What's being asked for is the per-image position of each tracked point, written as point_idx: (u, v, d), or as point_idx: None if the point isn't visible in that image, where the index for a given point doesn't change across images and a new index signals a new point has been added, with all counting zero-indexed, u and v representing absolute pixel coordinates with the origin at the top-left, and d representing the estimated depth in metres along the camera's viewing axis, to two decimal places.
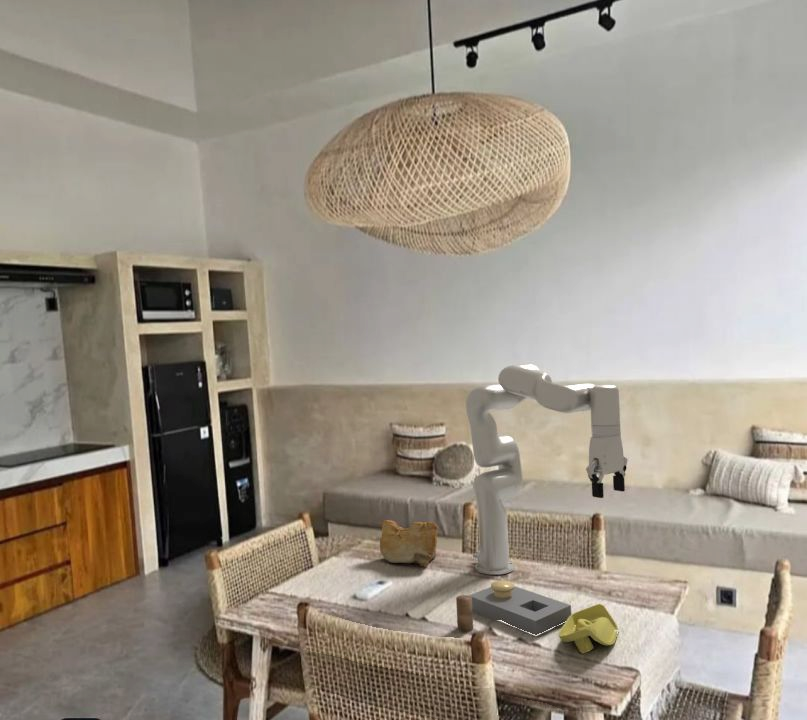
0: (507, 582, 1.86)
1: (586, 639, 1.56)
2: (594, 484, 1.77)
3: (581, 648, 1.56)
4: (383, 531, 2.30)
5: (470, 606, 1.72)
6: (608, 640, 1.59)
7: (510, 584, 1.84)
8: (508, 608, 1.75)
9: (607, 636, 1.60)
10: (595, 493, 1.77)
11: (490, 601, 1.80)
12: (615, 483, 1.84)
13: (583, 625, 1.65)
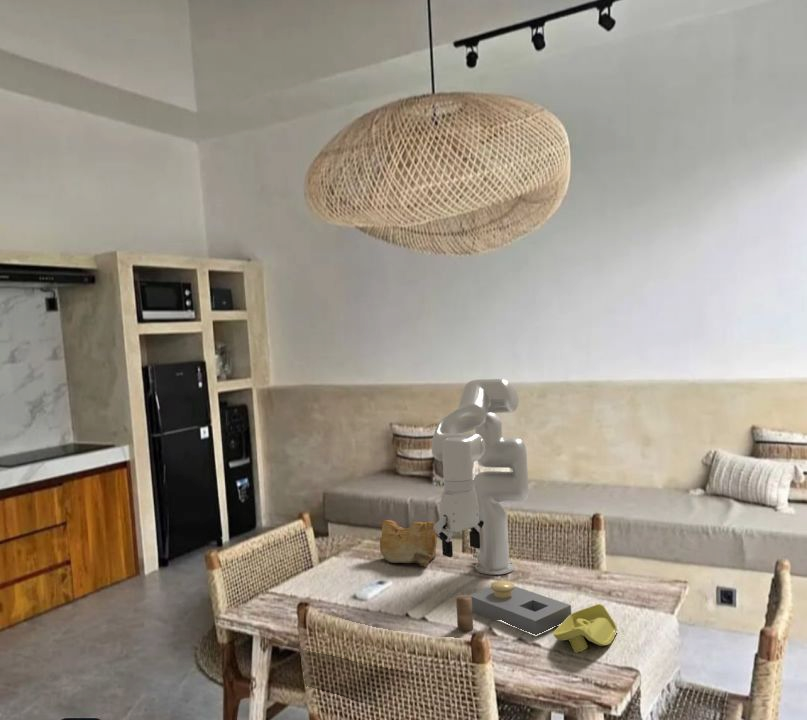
0: (507, 582, 1.86)
1: (580, 638, 1.57)
2: (443, 542, 1.69)
3: (575, 647, 1.56)
4: (383, 531, 2.30)
5: (470, 606, 1.72)
6: (604, 640, 1.59)
7: (510, 584, 1.84)
8: (508, 608, 1.75)
9: (603, 637, 1.60)
10: (444, 552, 1.69)
11: (490, 601, 1.80)
12: (471, 539, 1.76)
13: (581, 625, 1.66)
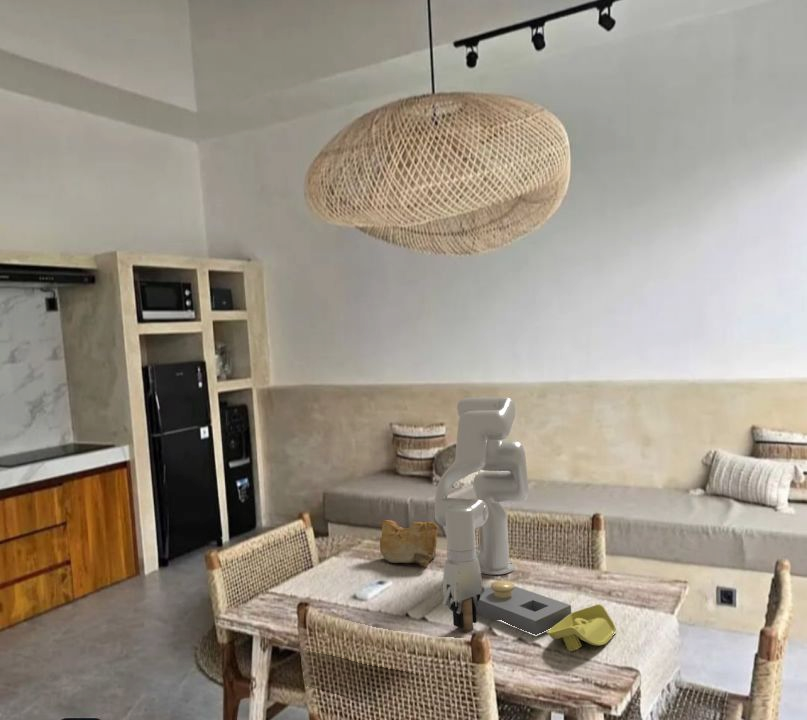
0: (507, 582, 1.86)
1: (574, 637, 1.57)
2: (454, 614, 1.71)
3: (568, 646, 1.57)
4: (383, 531, 2.30)
5: (470, 606, 1.72)
6: (599, 640, 1.59)
7: (510, 584, 1.84)
8: (508, 608, 1.75)
9: (598, 637, 1.60)
10: (455, 623, 1.71)
11: (490, 601, 1.80)
12: None
13: (578, 624, 1.66)
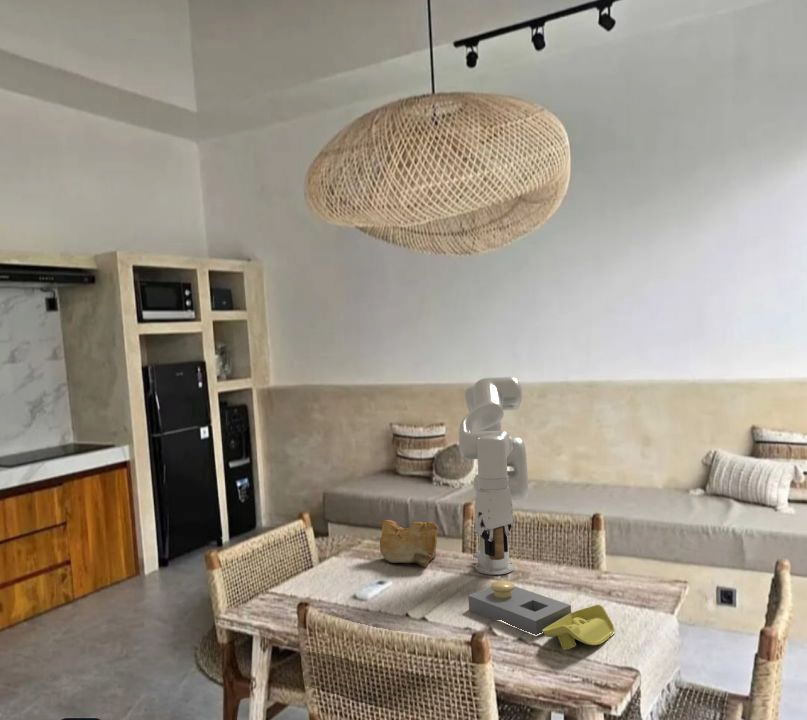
0: (507, 582, 1.86)
1: (568, 636, 1.58)
2: (485, 542, 1.72)
3: (563, 645, 1.58)
4: (383, 531, 2.30)
5: (501, 535, 1.72)
6: (594, 640, 1.59)
7: (510, 584, 1.84)
8: (508, 608, 1.75)
9: (594, 637, 1.60)
10: (486, 551, 1.72)
11: (490, 601, 1.80)
12: None
13: (576, 623, 1.67)
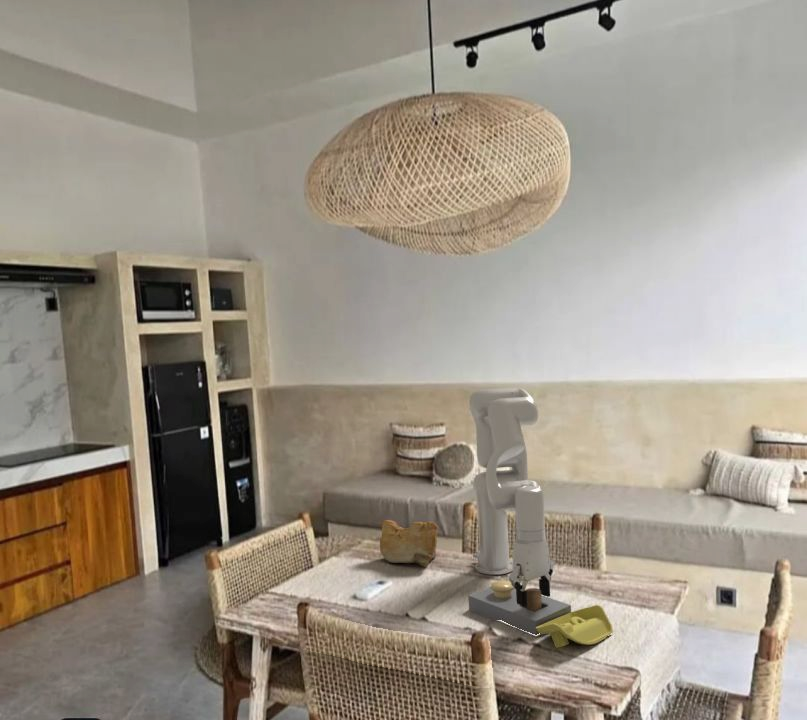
0: (507, 582, 1.86)
1: (560, 634, 1.59)
2: (518, 592, 1.72)
3: (555, 642, 1.59)
4: (383, 531, 2.30)
5: (540, 599, 1.74)
6: (588, 640, 1.60)
7: (510, 584, 1.84)
8: (508, 608, 1.75)
9: (588, 636, 1.61)
10: (519, 601, 1.72)
11: (490, 601, 1.80)
12: (541, 587, 1.79)
13: (573, 622, 1.67)
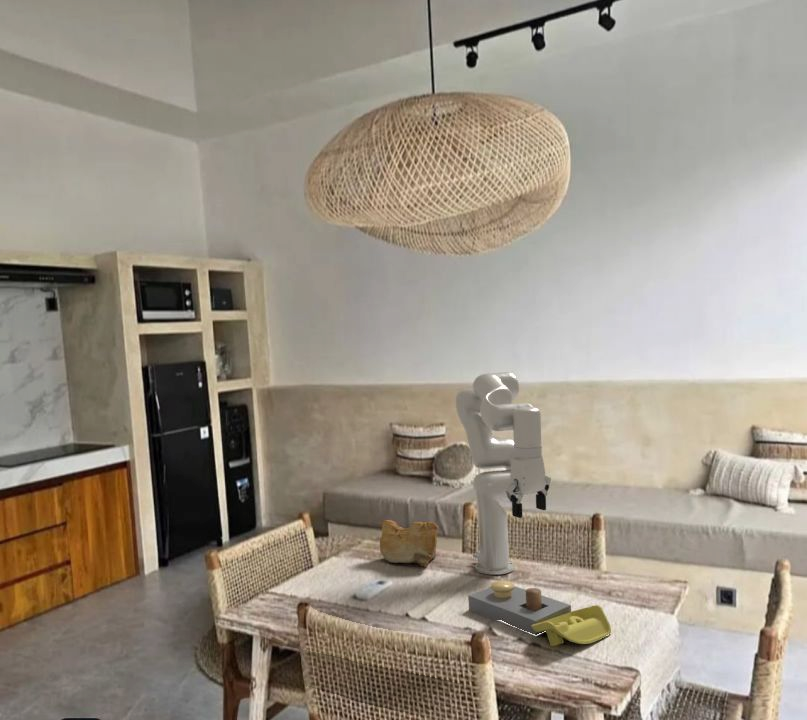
0: (507, 582, 1.86)
1: (555, 633, 1.60)
2: (513, 504, 1.82)
3: (550, 641, 1.60)
4: (383, 531, 2.30)
5: (540, 599, 1.74)
6: (583, 639, 1.60)
7: (510, 584, 1.84)
8: (508, 608, 1.75)
9: (584, 636, 1.61)
10: (514, 513, 1.82)
11: (490, 601, 1.80)
12: (537, 502, 1.89)
13: (571, 622, 1.68)
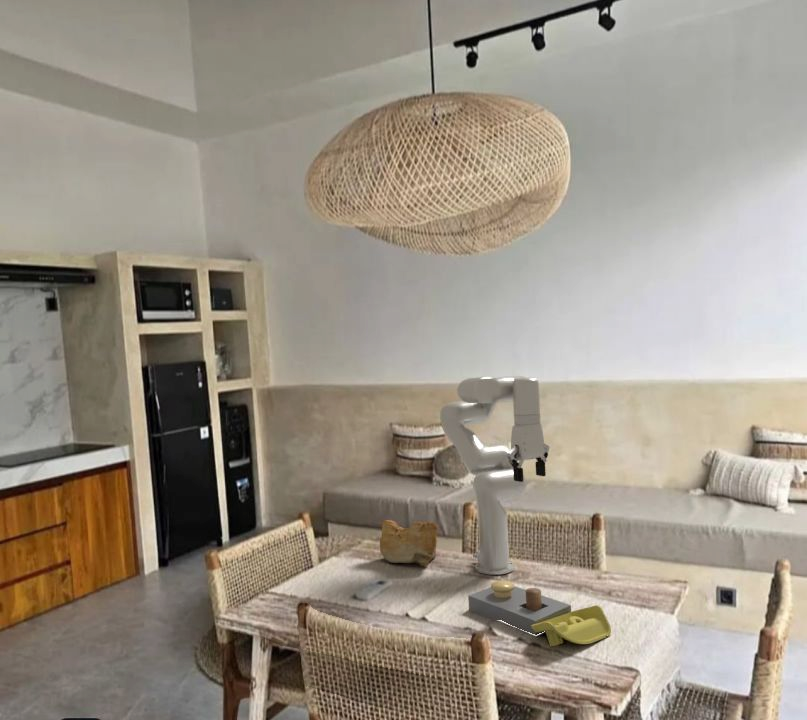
0: (507, 582, 1.86)
1: (555, 633, 1.60)
2: (515, 469, 1.92)
3: (549, 641, 1.60)
4: (383, 531, 2.30)
5: (540, 599, 1.74)
6: (583, 639, 1.60)
7: (510, 584, 1.84)
8: (508, 608, 1.75)
9: (583, 636, 1.61)
10: (516, 477, 1.92)
11: (490, 601, 1.80)
12: (537, 468, 1.99)
13: (571, 622, 1.68)
